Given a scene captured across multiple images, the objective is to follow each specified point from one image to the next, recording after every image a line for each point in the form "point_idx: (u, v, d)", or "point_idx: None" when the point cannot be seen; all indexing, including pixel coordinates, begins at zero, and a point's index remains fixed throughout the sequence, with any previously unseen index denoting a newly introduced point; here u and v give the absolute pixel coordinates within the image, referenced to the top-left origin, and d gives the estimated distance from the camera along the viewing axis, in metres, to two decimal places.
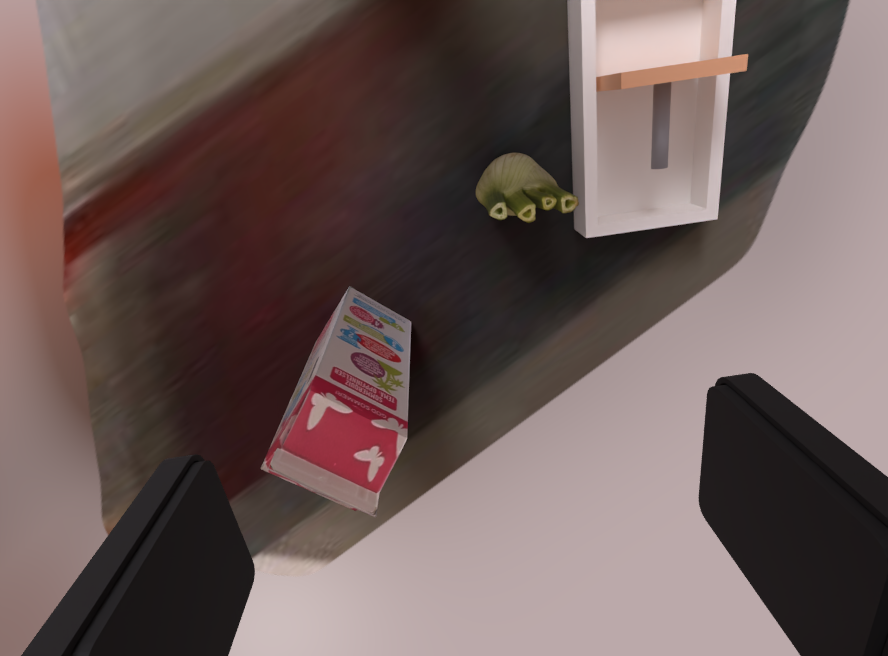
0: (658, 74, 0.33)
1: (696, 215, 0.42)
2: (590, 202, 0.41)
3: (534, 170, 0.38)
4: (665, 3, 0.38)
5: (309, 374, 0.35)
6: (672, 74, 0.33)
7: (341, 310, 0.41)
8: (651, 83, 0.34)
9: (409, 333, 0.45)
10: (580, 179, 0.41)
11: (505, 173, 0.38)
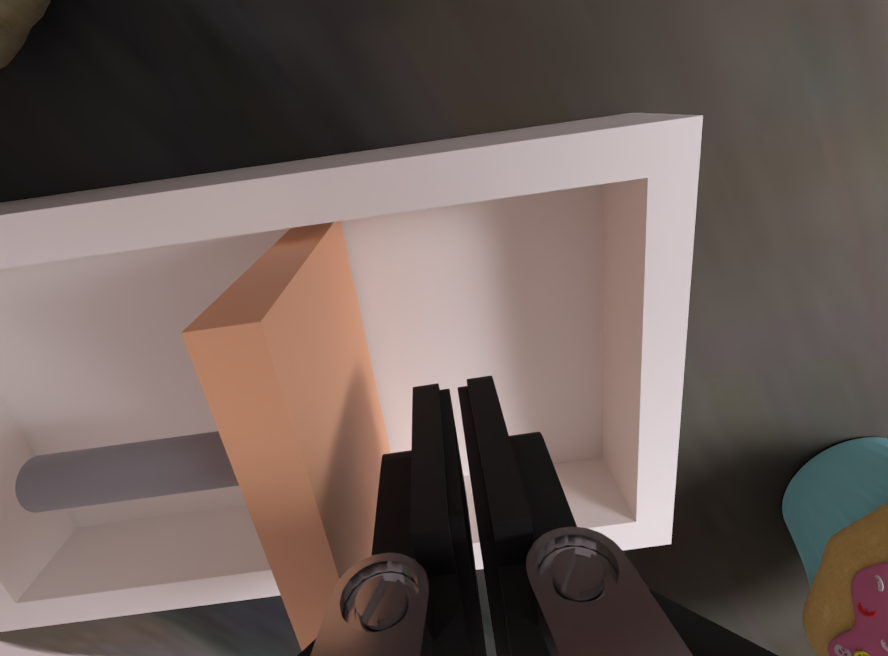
0: (278, 482, 0.07)
1: None
2: None
3: None
4: (545, 387, 0.15)
5: None
6: (286, 532, 0.08)
7: None
8: (236, 462, 0.07)
9: None
10: None
11: None
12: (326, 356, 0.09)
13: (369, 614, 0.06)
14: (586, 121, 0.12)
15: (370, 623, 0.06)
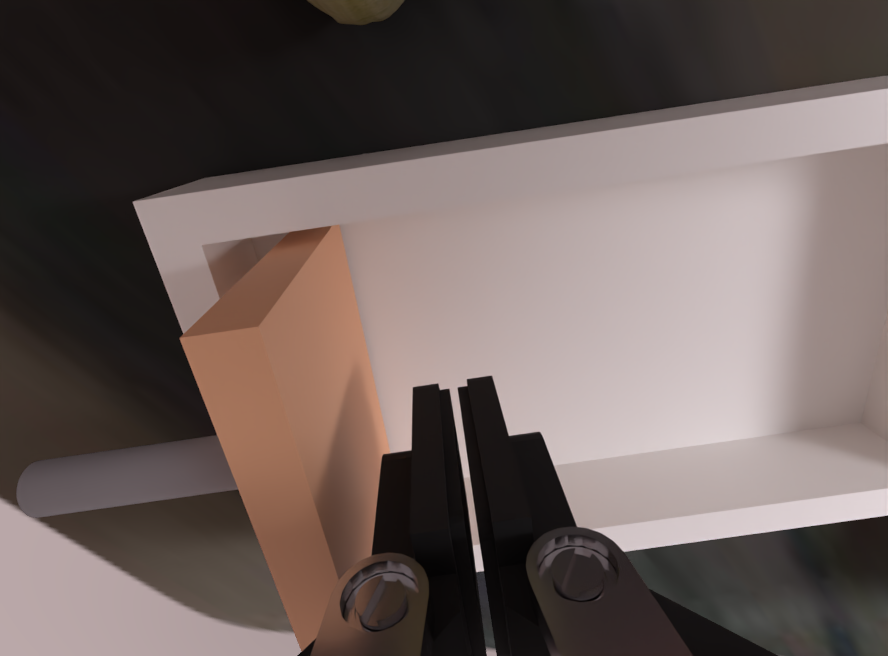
0: (278, 486, 0.07)
1: None
2: (289, 203, 0.10)
3: None
4: (822, 349, 0.15)
5: None
6: (286, 536, 0.08)
7: None
8: (235, 466, 0.07)
9: None
10: (375, 160, 0.11)
11: None
12: (325, 359, 0.09)
13: (369, 614, 0.06)
14: None
15: (370, 623, 0.06)
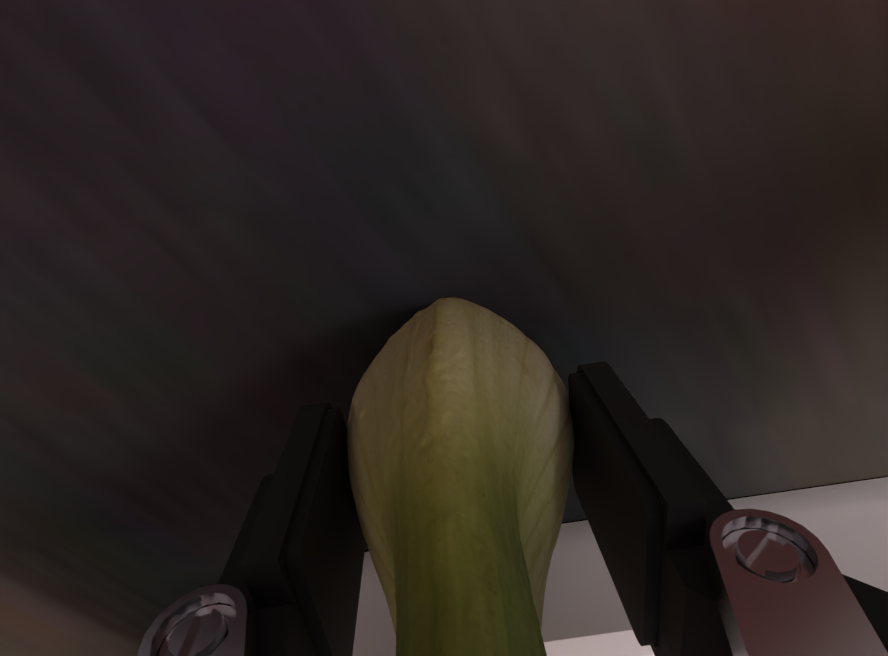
0: None
1: None
2: None
3: None
4: None
5: None
6: None
7: None
8: None
9: None
10: None
11: (552, 475, 0.08)
12: None
13: (185, 652, 0.06)
14: None
15: None
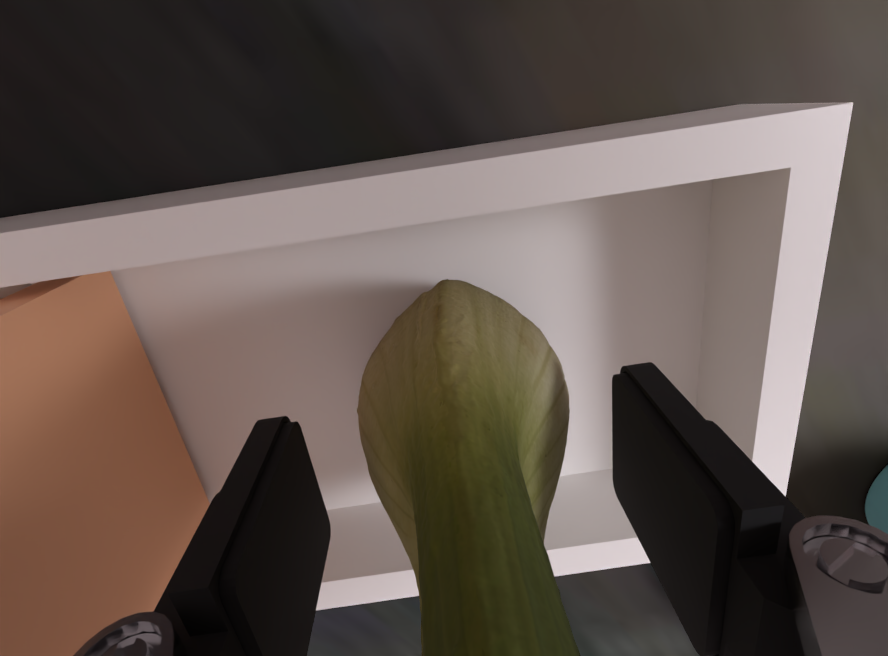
0: None
1: None
2: (2, 258, 0.10)
3: None
4: None
5: None
6: None
7: None
8: None
9: None
10: (112, 210, 0.10)
11: (549, 433, 0.09)
12: (15, 422, 0.09)
13: None
14: (701, 112, 0.12)
15: None
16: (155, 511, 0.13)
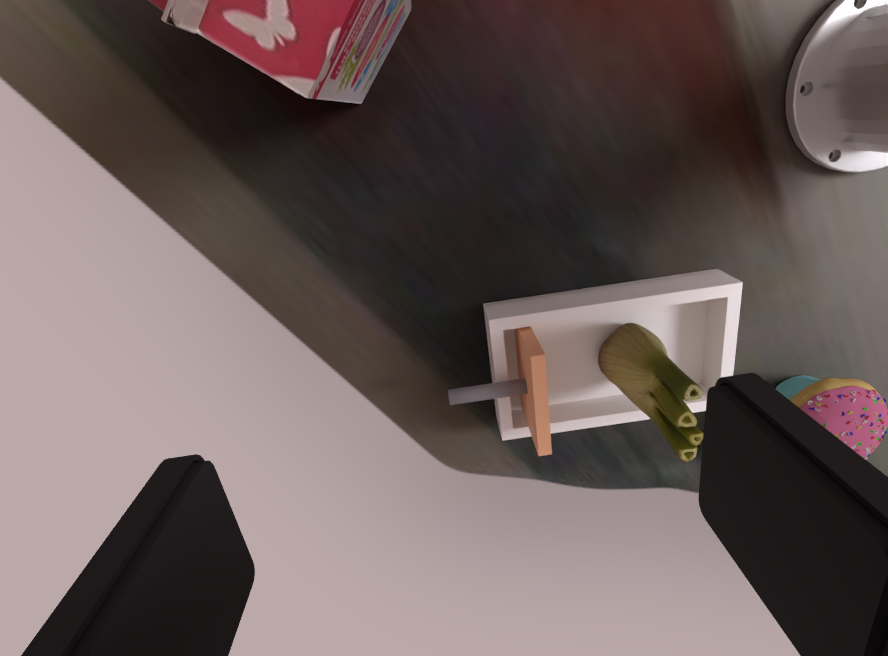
0: (541, 386, 0.35)
1: (507, 421, 0.41)
2: (527, 319, 0.38)
3: None
4: (683, 356, 0.43)
5: None
6: (540, 398, 0.35)
7: None
8: (533, 382, 0.35)
9: (357, 101, 0.32)
10: (546, 305, 0.38)
11: None
12: None
13: None
14: (705, 274, 0.40)
15: None
16: None
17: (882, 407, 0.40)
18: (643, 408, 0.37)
